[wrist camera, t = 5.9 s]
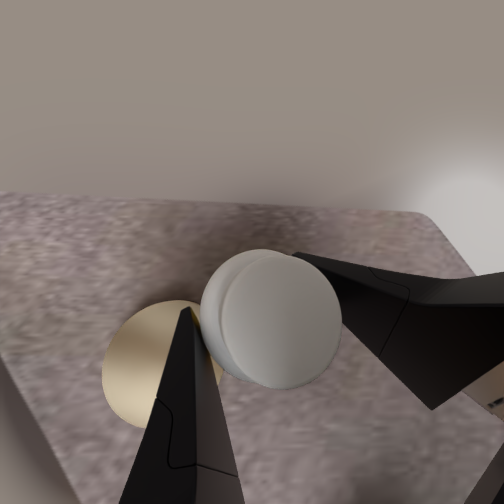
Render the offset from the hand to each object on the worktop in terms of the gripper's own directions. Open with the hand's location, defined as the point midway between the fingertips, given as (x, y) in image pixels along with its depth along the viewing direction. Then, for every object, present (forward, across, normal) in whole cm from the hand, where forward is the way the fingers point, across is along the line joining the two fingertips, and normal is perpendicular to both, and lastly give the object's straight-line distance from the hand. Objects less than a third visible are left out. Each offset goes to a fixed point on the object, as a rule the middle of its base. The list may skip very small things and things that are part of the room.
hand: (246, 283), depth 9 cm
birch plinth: (+7, +7, +11) cm, 15 cm away
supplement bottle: (+4, 0, +6) cm, 7 cm away
